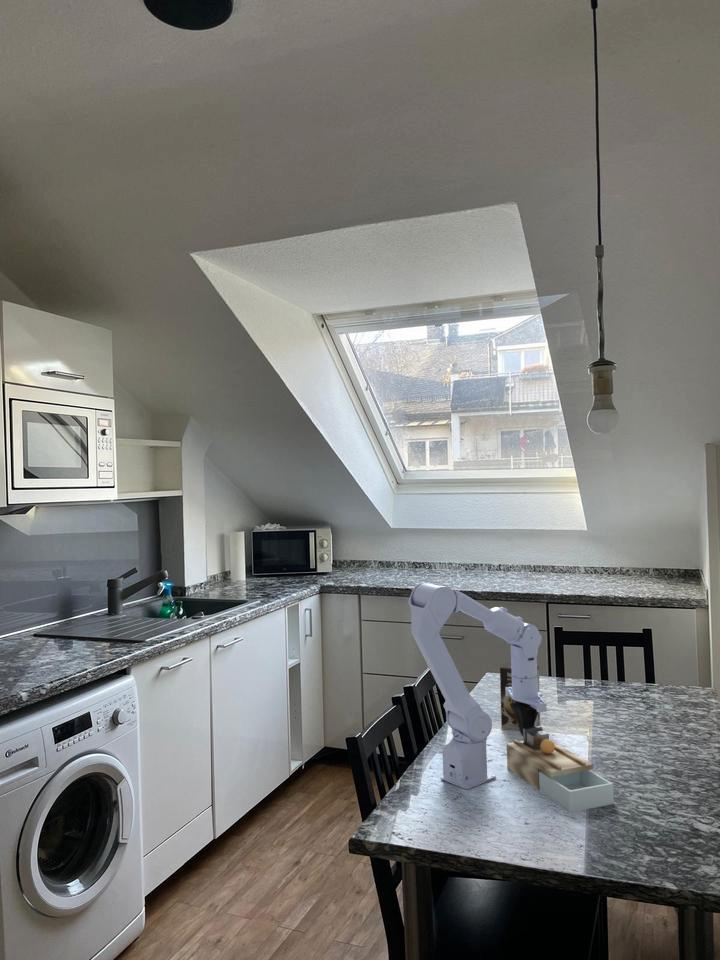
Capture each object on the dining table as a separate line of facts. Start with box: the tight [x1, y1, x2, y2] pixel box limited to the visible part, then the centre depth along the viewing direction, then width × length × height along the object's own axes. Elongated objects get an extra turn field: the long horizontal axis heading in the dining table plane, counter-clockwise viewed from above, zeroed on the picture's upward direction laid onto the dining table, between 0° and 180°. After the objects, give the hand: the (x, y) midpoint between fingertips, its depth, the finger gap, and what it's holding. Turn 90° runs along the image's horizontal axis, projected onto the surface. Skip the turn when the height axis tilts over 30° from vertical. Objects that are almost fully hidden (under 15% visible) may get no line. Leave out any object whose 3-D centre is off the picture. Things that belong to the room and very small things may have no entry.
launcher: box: [506, 739, 594, 791], centre depth 161 cm, size 18×10×6 cm, turn 18°
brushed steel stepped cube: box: [522, 726, 550, 750], centre depth 165 cm, size 4×4×4 cm
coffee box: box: [499, 662, 541, 732], centre depth 195 cm, size 9×6×16 cm
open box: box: [539, 770, 615, 813], centre depth 151 cm, size 11×10×4 cm
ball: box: [541, 738, 555, 754], centre depth 161 cm, size 3×3×3 cm
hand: (526, 735), depth 169 cm, fingers closed
